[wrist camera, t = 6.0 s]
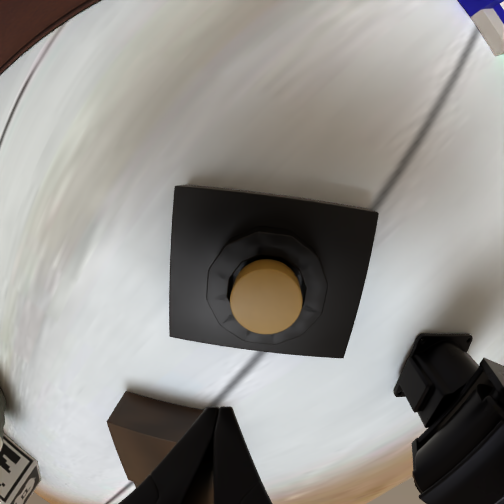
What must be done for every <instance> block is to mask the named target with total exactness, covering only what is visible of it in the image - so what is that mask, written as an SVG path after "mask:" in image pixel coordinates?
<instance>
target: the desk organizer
mask: <svg viewBox="0 0 504 504" xmlns="http://www.w3.org/2000/svg"><path fill="white" fill-rule="evenodd" d="M97 1H99V0H0V74H1V73H2V72H3V71H4V70H5V69H6V68H7V67H8V66H9V65H11V64H12V63H13V62H14V61H15V60H16V59H17V58H18V57H19V56H21V55H22V54H23V53H24V52H25V51H26V50H27V49H29V48H30V47H31V46H32V45H33V44H35V43H36V42H37V41H38V40H40V39H41V38H43V37H44V36H45V35H47V34H48V33H49V32H51V31H52V30H53V29H55V28H56V27H58V26H59V25H60V24H62V23H63V22H65V21H66V20H68V19H69V18H71V17H72V16H74V15H76V14H77V13H79V12H80V11H82V10H84V9H85V8H87V7H89V6H90V5H92V4H94V3H95V2H97Z"/></svg>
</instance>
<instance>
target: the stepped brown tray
mask: <svg viewBox="0 0 504 504" xmlns="http://www.w3.org/2000/svg"><path fill="white" fill-rule="evenodd" d="M203 411H204V410H201V409H195V408H190V407H186V406H181V405H176V404H172V403H168V402H164V401H159V400H155V399H152V398H148V397H144V396H140V395H137V394H133V393H130V392H127V391H126V392H125V393H124V395H123V396H122V398H121V399H120V401H119V403H118V404H117V406H116V407H115V409H114V411H113V412H112V414H111V415H110V417H109V419H108V420H107V424H108V427H109V430H110V433H111V436H112V439H113V442H114V445H115V447H116V450H117V453H118V455H119V458H120V461H121V463H122V466H123V468H124V471H125V473H126V475H127V478H128V480H131V481H134V484H135V486H136V488H137V487H138V486H139V485H140V484H141V483H142V482H143V481H144V480H145V479H146V477H147V476H148V475H151V472H152V471H153V470H154V469H155V468H156V466H157V465H158V464H159V463H160V462H161V461H162V460H163V459H164V457H165V456H166V455H167V454H168V453H169V452H170V450H171V449H172V448H173V447H174V446H175V445H176V443H177V442H178V441H179V440H180V439H181V438H182V436H183V435H184V434H185V433H186V432H187V430H188V429H189V428H190V427H191V426H192V424H193V423H194V422H195V421H196V419H197V418H198V417H199V416H200V415H201V413H202V412H203Z"/></svg>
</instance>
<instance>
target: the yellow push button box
mask: <svg viewBox="0 0 504 504" xmlns="http://www.w3.org/2000/svg"><path fill="white" fill-rule="evenodd" d="M377 220H378V212H375V211H372V210H370V209H367V208H361V207H356V206H350V205H344V204H338V203H332V202H325V201H319V200H312V199H306V198H299V197H292V196H284V195H277V194H269V193H261V192H253V191H244V190H235V189H226V188H216V187H206V186H195V185H179V186H175V190H174V202H173V216H172V233H171V254H170V291H169V330H170V337H174V338H180V339H185V340H190V341H196V342H202V343H207V344H214V345H220V346H226V347H233V348H240V349H247V350H255V351H263V352H272V353H281V354H291V355H302V356H315V357H329V358H344V354H345V351H346V348H347V345H348V342H349V338H350V335H351V332H352V328H353V325H354V321H355V318H356V314H357V310H358V307H359V303H360V299H361V295H362V291H363V287H364V283H365V279H366V274H367V270H368V266H369V261H370V256H371V252H372V247H373V242H374V236H375V231H376V226H377ZM261 259H272V260H277V261H280V262H282V263H284V264H286V265H287V266H288V267H289V268H291V269H292V271H293V272H294V273H295V275H296V276H297V279H298V281H299V285H300V289H301V293H302V300H303V303H302V309H301V312H300V315H299V316H298V318H297V320H296V321H295V322H294V323H293V324H292V325H291V326H290V327H288V328H287V329H285V330H283V331H281V332H278V333H274V334H258V333H255V332H252V331H249V330H248V329H246V328H244V327H243V326H242V325H241V324H240V323H239V322H238V321H237V320H236V319H235V317H234V315H233V313H232V311H231V307H230V295H231V291H232V288H233V286H234V283H235V280H236V277H237V275H238V274H239V272H240V271H241V270H242V269H243V268H244V267H245V266H246V265H248V264H249V263H251V262H254V261H257V260H261Z"/></svg>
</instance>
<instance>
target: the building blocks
mask: <svg viewBox="0 0 504 504" xmlns="http://www.w3.org/2000/svg"><path fill="white" fill-rule="evenodd" d="M458 1H459V2H460V4H461V5H462V6H463V8H464V9H465V10H466V12H467V13H468V14H469V16H470V18H471V19H472V20H473V22H474V23H475V25H476V26H477V28H478V29H479V31H480V32H481V34H482V35H483V37H484V39H485V40H486V42H487V43H488V45H489V47H490V48H491V50H492V52H493V54H494V55H495V56H498V55H501V54H504V10H503V8H502V7H501V5H500V3H501V2H503V1H504V0H458Z"/></svg>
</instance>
